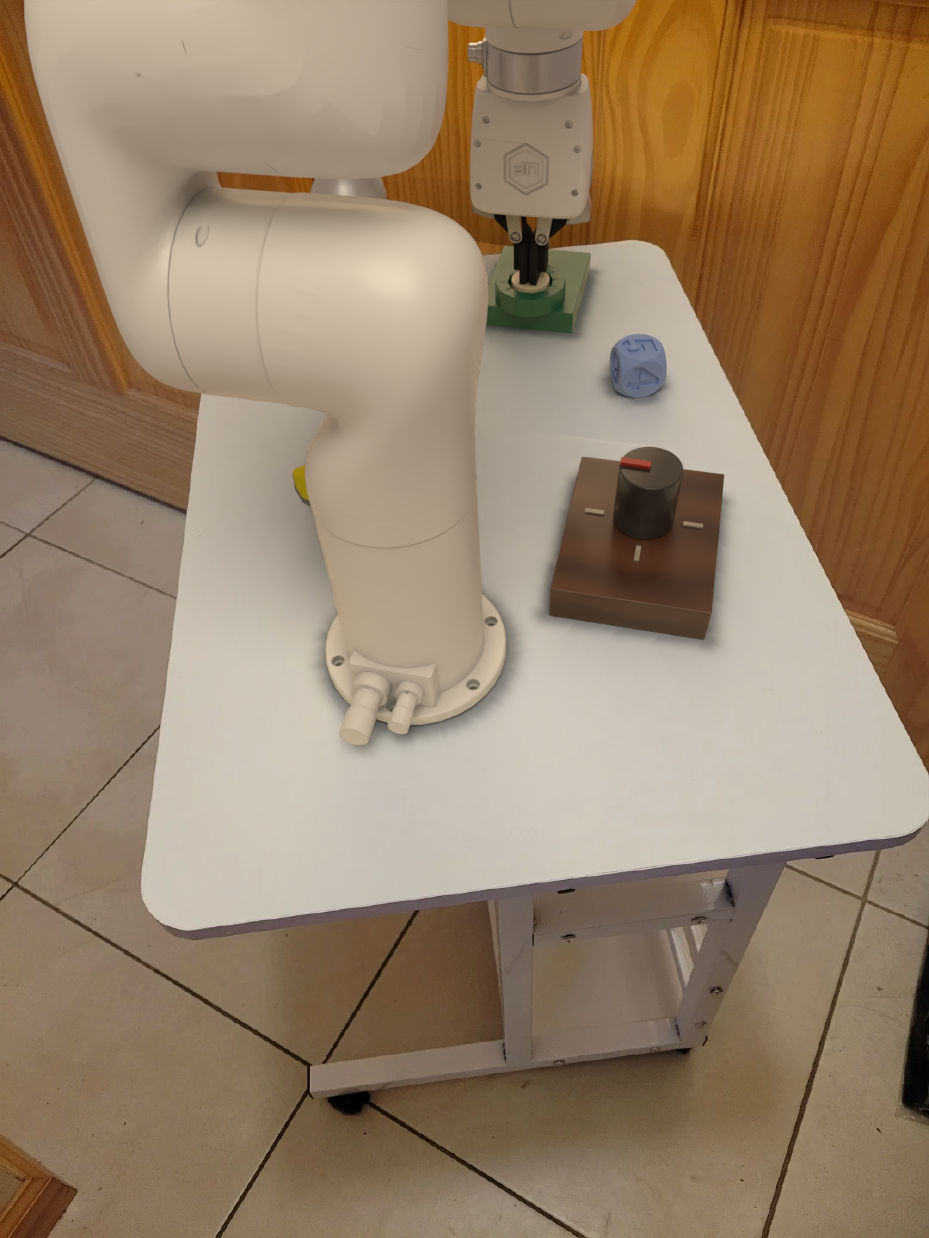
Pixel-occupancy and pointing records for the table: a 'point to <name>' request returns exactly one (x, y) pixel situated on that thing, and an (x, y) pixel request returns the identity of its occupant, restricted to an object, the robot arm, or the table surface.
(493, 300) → the lamp base
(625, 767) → the table surface
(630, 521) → the dimmer knob
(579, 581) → the dimmer panel
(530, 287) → the lamp switch
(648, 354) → the decorative dice
